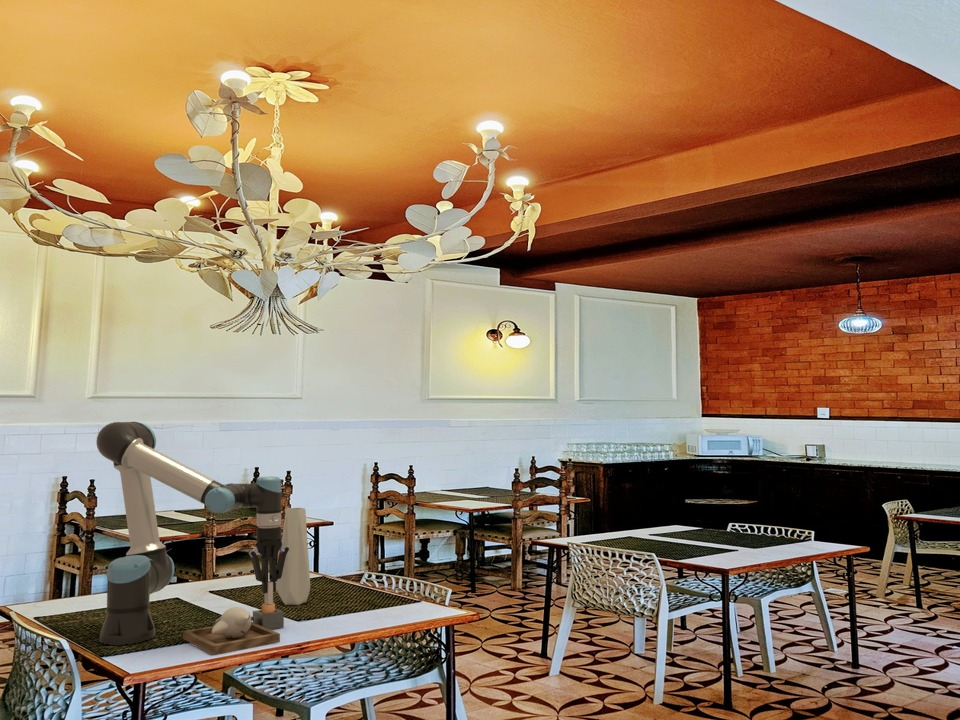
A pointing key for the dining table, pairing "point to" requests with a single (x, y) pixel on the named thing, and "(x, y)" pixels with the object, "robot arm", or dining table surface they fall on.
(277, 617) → the housing
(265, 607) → the orange block
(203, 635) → the tray
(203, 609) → the dining table surface
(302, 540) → the vase
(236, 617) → the toy
